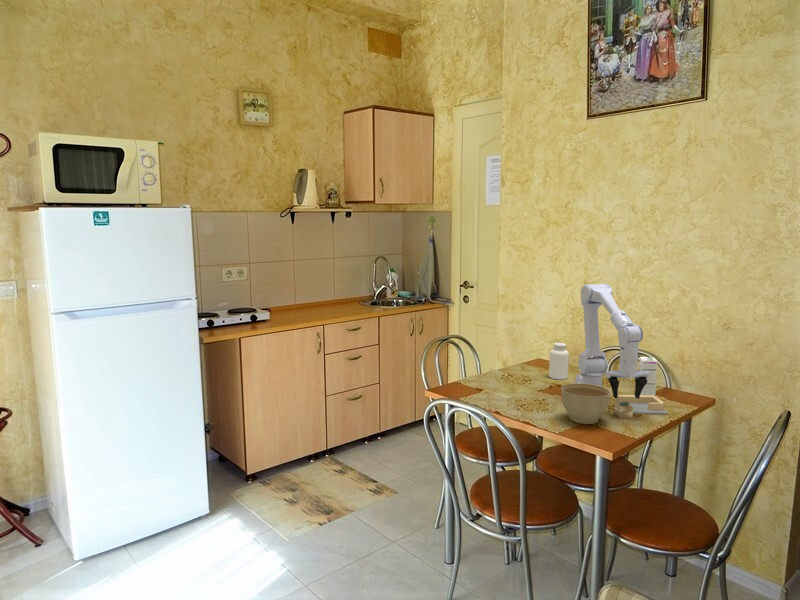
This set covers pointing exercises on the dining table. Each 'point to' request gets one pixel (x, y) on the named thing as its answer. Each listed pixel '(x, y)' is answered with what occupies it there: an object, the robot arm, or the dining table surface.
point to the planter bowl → (585, 402)
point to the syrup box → (651, 367)
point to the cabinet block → (623, 410)
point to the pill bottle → (558, 361)
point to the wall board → (643, 404)
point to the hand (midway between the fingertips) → (626, 397)
